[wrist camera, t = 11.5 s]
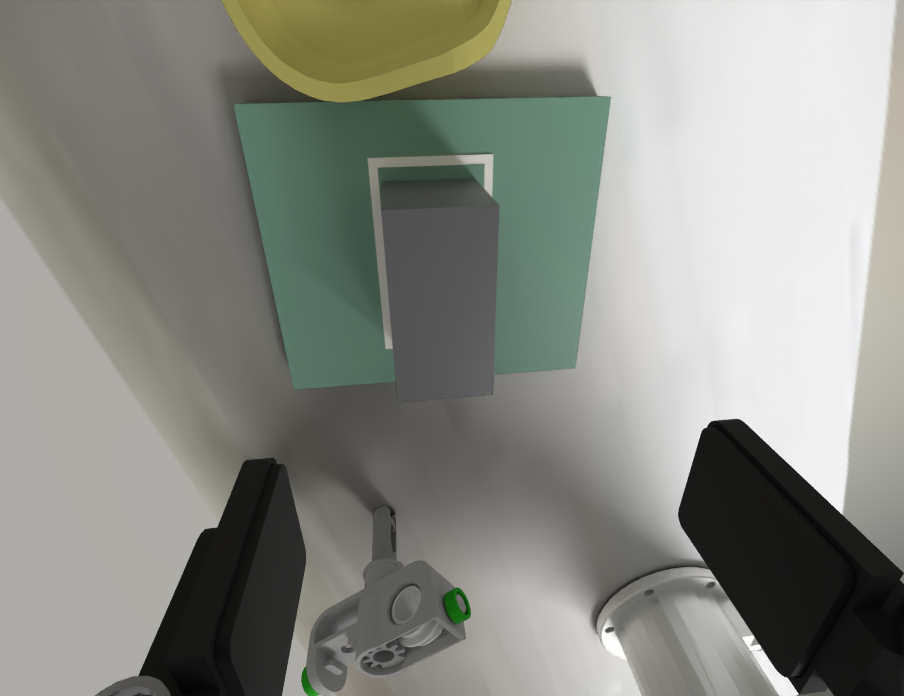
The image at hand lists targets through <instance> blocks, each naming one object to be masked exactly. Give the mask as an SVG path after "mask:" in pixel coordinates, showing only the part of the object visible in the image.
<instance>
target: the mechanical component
mask: <svg viewBox="0 0 904 696" xmlns="http://www.w3.org/2000/svg"><path fill="white" fill-rule="evenodd" d="M363 578H364V580H365V589H363V590H361V591H359V592H358V593H356V594H354V595H352V596H350V597H348V598H347V599H345V600H343V601H341V602H339V603H337V604H336V605H334V606H332V607H330V608H328V609H327V610H325V611H324V612H323V613H322V614H321V615H320V616H319V618H318V619H317V621H316V622H315V624H314V626H313V628H312V631H311V635H310V641H309V648H308V655H307V663H306V667H305V668H304V670H303V672H302V680H301V681H302V686H303V689H304V691H305V692H306V694H307V695H308V696H317V695H319V694H320V695H323V696H330V695H332V694H334V693H336V692H338V691H340V690H341V689H342V688H343V686H344V684H345V681H346V675H347V666H349V665H351V664H353V663H355V666H356V669H358V670H359V671H361V672H362V673H364V674H366V675H367V676H369V677H375V678H384V677H390V676H394V675H397V674H399V673H402V672H403V671H405V670H406V669H407V668H408V667H410V666H412V665H414V664H416V663H418V662H420V661H422V660H424V659H426V658H428V657H430V656H432V655H434V654H436V653H438V652H440V651H442V650H444V649H446V648H448V647H450V646H452V645H454V644H456V643H458V642H460V641H462V640H464V639H466V635H465V628H464V621H465V620H467V619H469V618H470V616H471V610H470V605H469V602H468V600H467V598H466V596H465V594H464V592H463V591H462V590H461V589H460V588H455V587H454V586H453V585H452V584H451V583H450V582H448V581H447V580H446V579H445V578H444V577H443V576H441V575H440V574H439V573H438V572H437V571H436V570H435V569H433V568H432V567H431V566H430V565H429V564H428V563H426V562H425V561H415V562H413V563H411V564H409V565H407V566H405V567H404V566H403V564H402V563H401V562H399V561H397V548H396V514H395V515H393V516H390V510H389V508H388V507H387V506H382V507H379V508H377V509H376V510H375V511H374V517H373V547H372V562H370V563H369V564H368V565H367V566H366V567H365V569H364V571H363ZM443 627H444V628H443ZM442 628H443V630H442V632H441V633H440V631H441V629H442ZM439 633H440V635H439V636H438V634H439ZM437 636H438V637H437ZM436 637H437V638H436ZM435 638H436V639H435ZM434 639H435V640H434ZM433 640H434V641H433ZM430 642H431V643H430ZM347 645H349V646H351V648H346V646H347Z"/></svg>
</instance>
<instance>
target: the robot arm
mask: <svg viewBox="0 0 904 696" xmlns="http://www.w3.org/2000/svg"><path fill="white" fill-rule="evenodd" d="M678 517H679V522H680V524H681V526H682V528H683V530H684V531H685V533H686V534H687V536H688V537H689V539H690V540H691V542H692V543H693V545H694V546H695V548H696V549H697V551H698V552H699V554H700V555H701V557H702V559H703V560H704V562H705V563H706V565H707V566H708V568H709V569H710V570H709V569H704V568H698V567H680V568H671V569H667V570H663V571H659V572H656V573H653V574H650V575H647V576H644V577H642V578H640V579H638V580H636V581H634V582H632V583H631V584H629V585H627V586H626V587H624V588H623V589H621V590H620V591H619V592H618V593H616V594H615V595H614V596H613V597H612V598H611V599H610V600H609V601H608V602H607V603H606V605H605V606H604V607H603V609H602V611H601V613H600V614H599V617H598V620H597V632H598V635H599V638H600V641H601V643H602V645H603V647H604V648H605V649H606V650H607V651H608V652H609V653H610V654H612V655H614V656H616V657H619V658H622V659H626V660H627V661H628V664H629V666H630V668H631V671H632V673H633V676H634V678H635V681H636V683H637V685H638V688H639V690H640V693H641V695H642V696H779V695H778V693H777V692H776V690H775V688H774V687H773V685H772V684H771V682H770V681H769V679H768V677H767V676H766V674H765V673H764V671H763V670H762V668H761V666H760V665H759V663H758V662H757V660H756V659H755V657H754V655H753V654H752V652H751V651H756V650H757V651H764V652H765V654H766V655H767V657H768V658H769V660H770V661H771V663H772V664H773V666H774V667H775V669H776V670H777V671H778V672H779V673H780V674H781V675H782V676H784V677H788V679H789V680H790V682H791V683H792V685H793V686H794V688H795V689H796V691H797V692H798V693H799V695H801V694H808V693H815V692H822V691H826V689H827V688H829V689H830V691H831V692H832V693H833V695H834V696H904V584H903V583H902V582H901V581H900V578H901V577H902V575H903V574H904V573H903V572H902V571H901V570H900V569H899V568H898V567H897V566H896V565H894V564H893V562H891V561H890V560H889V559H888V558H887V557H886V556H885V555H884V554H883V553H882V552H881V551H880V550H879V549H878V548H877V547H876V546H875V545H873V544H872V543H871V542H870V541H869V540H868V539H867V538H866V537H865V536H864V535H863V534H862V533H861V532H860V531H859V530H858V529H857V528H856V527H854V526H853V525H852V524H851V523H850V522H849V521H848V520H847V519H846V518H845V517H844V516H843V515H842V514H841V513H840V512H839V511H838V510H836V509H835V508H834V507H833V506H832V505H831V504H830V503H829V502H828V501H827V500H826V499H825V498H824V497H823V496H822V495H821V494H820V493H818V492H817V491H816V490H815V489H814V488H813V487H812V486H811V485H810V484H809V483H808V482H807V481H806V480H805V479H804V478H803V477H802V476H801V475H799V474H798V473H797V472H796V471H795V470H794V469H793V468H792V467H791V466H790V465H789V464H788V463H787V462H786V461H785V460H784V459H783V458H781V457H780V456H779V455H778V454H777V453H776V452H775V451H774V450H773V449H772V448H771V447H770V446H769V445H768V444H767V443H766V442H765V441H763V440H762V439H761V438H760V437H759V436H758V435H757V434H756V433H755V432H754V431H753V430H752V429H751V428H750V427H749V426H748V425H747V424H745V423H744V422H743V421H742V420H739V419H730V420H718V421H712V422H710V423H709V425H708V427H707V428H704V429H703V430H702V433H701V436H700V439H699V442H698V446H697V449H696V453H695V456H694V459H693V463H692V466H691V470H690V473H689V477H688V480H687V483H686V487H685V490H684V494H683V497H682V500H681V504H680V507H679V511H678ZM305 565H306V550H305V545H304V541H303V537H302V533H301V529H300V524H299V520H298V516H297V512H296V508H295V503H294V499H293V495H292V491H291V487H290V483H289V478H288V474H287V470H286V467H285V465H284V464H277V463H276V460H275V459H274V458H265V459H253V460H246V461H244V463H243V465H242V467H241V470H240V472H239V475H238V477H237V480H236V482H235V485H234V487H233V490H232V492H231V495H230V497H229V500H228V502H227V505H226V507H225V510H224V512H223V515H222V517H221V520H220V522H219V525H218V527H217V528H209V529H205V530H204V531H203V532H202V533H201V534H200V536H199V538H198V540H197V542H196V544H195V546H194V549H193V551H192V553H191V555H190V558H189V560H188V562H187V565H186V567H185V569H184V572H183V574H182V576H181V579H180V581H179V583H178V586H177V588H176V590H175V593H174V595H173V597H172V599H171V602H170V604H169V606H168V609H167V611H166V613H165V616H164V618H163V620H162V622H161V625H160V627H159V629H158V632H157V634H156V636H155V639H154V641H153V643H152V646H151V648H150V650H149V652H148V655H147V657H146V659H145V662H144V664H143V666H142V669H141V671H140V673H139V676H133V677H130V678H127V679H124V680H121V681H118V682H116V683H114V684H112V685H111V686H109V687H107V688H105V689H104V690H102V691H100V692H99V693H98V694H96V695H95V696H282V692H283V686H284V681H285V675H286V670H287V664H288V659H289V653H290V648H291V642H292V637H293V631H294V626H295V620H296V615H297V610H298V604H299V599H300V593H301V588H302V582H303V577H304V571H305Z"/></svg>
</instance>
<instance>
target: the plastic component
mask: <svg viewBox="0 0 904 696" xmlns="http://www.w3.org/2000/svg"><path fill="white" fill-rule="evenodd" d="M511 1H512V0H222V3H223V5H224V7H225V9H226V11H227V13H228V14H229V16H230V18H231V20H232V21H233V23H234V25H235V27H236V28H237V30H238V32H239V34H240V35H241V36H242V38H243V39H244V41H245V42H246V44H247V45H248V46H249V48H250V49H251V51H252V52H253V53H254V54H255V55H256V57H257V58H258V59H259V60H260V61H261V62H262V64H263V65H264V66H265V67H266V68H268V69H269V70H270V71H271V72H272V73H273V74H274V75H275V76H277V77H278V78H279V79H280V80H281V81H283V82H285V83H286V84H288V85H289V86H291V87H292V88H294V89H295V90H297V91H299V92H302V93H304V94H306V95H308V96H311V97H314V98H317V99H320V100H323V101H332V102H352V101H362V100H366V99H370V98H374V97H378V96H381V95H385V94H388V93H391V92H394V91H398V90H401V89H404V88H407V87H410V86H413V85H416V84H419V83H423V82H426V81H429V80H433V79H436V78H440V77H443V76H446V75H450V74H453V73H456V72H458V71H461V70H463V69H465V68H467V67H469V66H471V65H472V64H474V63H476V62H477V61H479V60H480V59H482V58H484V57H485V56H486V55H487V54H488V53H489V52H490V51H491V49H492V48H493V47H494V45H495V43H496V41H497V39H498V37H499V35H500V32H501V30H502V28H503V25H504V23H505V20H506V17H507V14H508V11H509V8H510V5H511Z"/></svg>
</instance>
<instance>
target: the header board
mask: <svg viewBox="0 0 904 696" xmlns="http://www.w3.org/2000/svg"><path fill="white" fill-rule="evenodd" d="M610 100H611V97H608V96H563V97H513V98H463V99H413V100H362V101H352V102H332V101H312V102H262V103H239V104H233V106H234V111H235V115H236V120H237V125H238V129H239V134H240V139H241V144H242V148H243V153H244V158H245V162H246V167H247V172H248V177H249V181H250V186H251V191H252V195H253V200H254V205H255V209H256V214H257V219H258V224H259V228H260V233H261V238H262V242H263V247H264V252H265V257H266V261H267V266H268V271H269V275H270V280H271V285H272V290H273V294H274V299H275V304H276V308H277V313H278V318H279V323H280V327H281V332H282V337H283V341H284V346H285V351H286V356H287V360H288V365H289V370H290V374H291V379H292V384H293V389H294V390H295V389H309V388H322V387H335V386H348V385H361V384H374V383H387V382H396V381H395V369H394V357H393V345H392V333H391V322H390V310H389V298H388V286H387V274H386V262H385V251H384V239H383V227H382V215H381V202H382V182H386V181H414V180H443V179H471V178H475V179H476V180H477V181H478V182H479V183H480V184H481V186H482V187H483V188H484V189H485V190H486V191H487V192H488V193H489V194H490V196H491V197H492V198H493V199H494V200H495V201H496V202H497V203H498V204H499V233H498V262H497V291H496V319H495V348H494V374H506V373H519V372H532V371H545V370H559V369H572V368H575V366H576V359H577V351H578V344H579V336H580V328H581V321H582V313H583V306H584V298H585V290H586V283H587V275H588V268H589V260H590V252H591V245H592V237H593V230H594V222H595V214H596V207H597V199H598V192H599V184H600V176H601V169H602V161H603V154H604V146H605V138H606V131H607V123H608V116H609V108H610Z"/></svg>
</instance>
